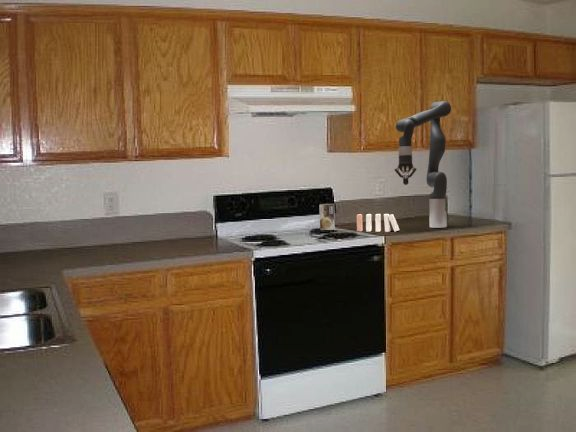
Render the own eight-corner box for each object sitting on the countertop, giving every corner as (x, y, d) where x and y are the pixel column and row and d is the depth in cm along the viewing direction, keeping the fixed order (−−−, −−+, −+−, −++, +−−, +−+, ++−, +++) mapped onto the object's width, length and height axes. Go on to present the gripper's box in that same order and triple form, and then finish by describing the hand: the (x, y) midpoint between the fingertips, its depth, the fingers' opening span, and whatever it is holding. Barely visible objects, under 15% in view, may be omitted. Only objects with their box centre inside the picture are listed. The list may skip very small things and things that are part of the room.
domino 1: (362, 230, 359) (362, 214, 358) (361, 231, 354) (360, 214, 353) (358, 230, 360) (358, 214, 359) (357, 231, 355) (356, 214, 354)
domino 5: (399, 229, 352) (392, 213, 353) (398, 230, 348) (391, 214, 348) (395, 231, 353) (389, 215, 354) (394, 231, 348) (388, 215, 349)
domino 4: (390, 230, 354) (389, 213, 354) (389, 231, 349) (387, 214, 349) (386, 231, 355) (384, 214, 354) (385, 231, 350) (383, 214, 350)
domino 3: (380, 231, 356) (380, 214, 355) (379, 231, 351) (379, 214, 350) (376, 231, 356) (376, 214, 356) (375, 231, 352) (375, 214, 351)
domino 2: (371, 230, 357) (371, 214, 357) (370, 231, 353) (370, 214, 352) (367, 230, 358) (367, 214, 357) (366, 231, 353) (365, 214, 353)
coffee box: (335, 229, 371) (334, 203, 370) (334, 230, 364) (334, 204, 363) (320, 230, 372) (319, 203, 370) (319, 231, 365) (319, 204, 364)
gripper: (417, 154, 347) (418, 184, 348) (394, 155, 351) (395, 184, 352) (416, 154, 340) (417, 184, 341) (392, 154, 344) (393, 185, 345)
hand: (405, 184), depth 347 cm, fingers closed
